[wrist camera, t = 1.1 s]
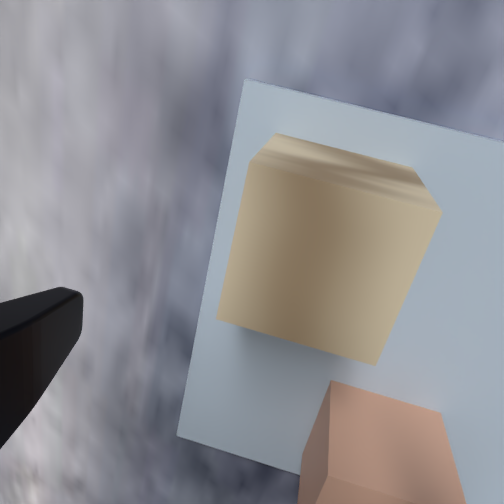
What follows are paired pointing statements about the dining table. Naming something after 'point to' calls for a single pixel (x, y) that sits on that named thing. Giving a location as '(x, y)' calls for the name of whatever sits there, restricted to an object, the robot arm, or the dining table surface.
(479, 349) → the build board
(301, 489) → the terracotta block
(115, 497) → the dining table surface
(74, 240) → the dining table surface
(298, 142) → the maple block
